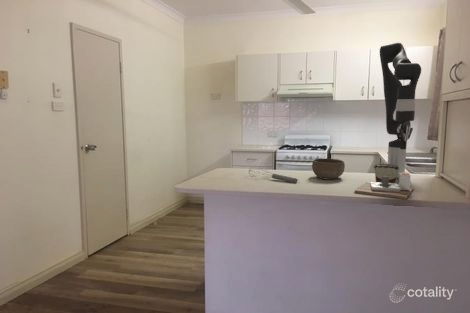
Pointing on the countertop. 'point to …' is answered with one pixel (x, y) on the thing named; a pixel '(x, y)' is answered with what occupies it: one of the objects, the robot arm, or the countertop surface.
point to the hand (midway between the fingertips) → (403, 149)
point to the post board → (385, 179)
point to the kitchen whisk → (278, 177)
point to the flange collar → (394, 184)
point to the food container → (386, 172)
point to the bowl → (328, 168)
